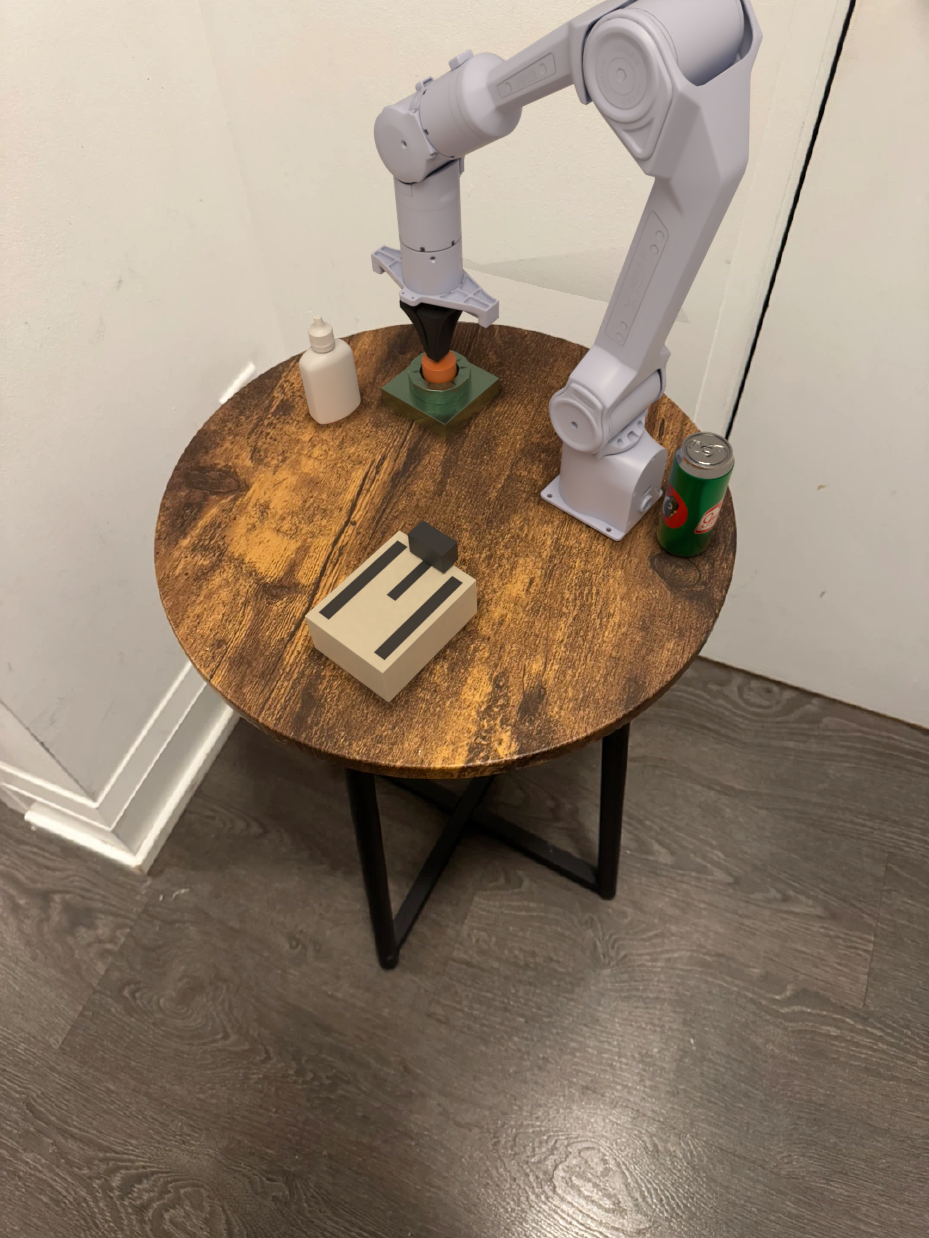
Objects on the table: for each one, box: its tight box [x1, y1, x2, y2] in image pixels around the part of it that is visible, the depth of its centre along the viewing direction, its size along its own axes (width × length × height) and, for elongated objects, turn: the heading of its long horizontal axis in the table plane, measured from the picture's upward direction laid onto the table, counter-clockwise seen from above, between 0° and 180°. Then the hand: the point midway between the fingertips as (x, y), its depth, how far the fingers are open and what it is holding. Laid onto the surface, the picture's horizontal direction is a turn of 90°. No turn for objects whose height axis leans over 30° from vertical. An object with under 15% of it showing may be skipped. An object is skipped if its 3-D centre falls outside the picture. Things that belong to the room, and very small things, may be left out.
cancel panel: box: [380, 349, 500, 440], centre depth 95 cm, size 9×9×4 cm
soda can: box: [656, 431, 736, 558], centre depth 80 cm, size 5×5×12 cm
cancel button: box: [422, 349, 457, 384], centre depth 93 cm, size 4×4×2 cm
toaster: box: [304, 530, 478, 703], centre depth 78 cm, size 9×13×5 cm
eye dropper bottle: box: [298, 314, 362, 425], centre depth 92 cm, size 4×6×12 cm
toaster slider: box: [407, 519, 459, 573], centre depth 77 cm, size 4×2×2 cm, turn 50°
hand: (438, 354), depth 92 cm, fingers closed
